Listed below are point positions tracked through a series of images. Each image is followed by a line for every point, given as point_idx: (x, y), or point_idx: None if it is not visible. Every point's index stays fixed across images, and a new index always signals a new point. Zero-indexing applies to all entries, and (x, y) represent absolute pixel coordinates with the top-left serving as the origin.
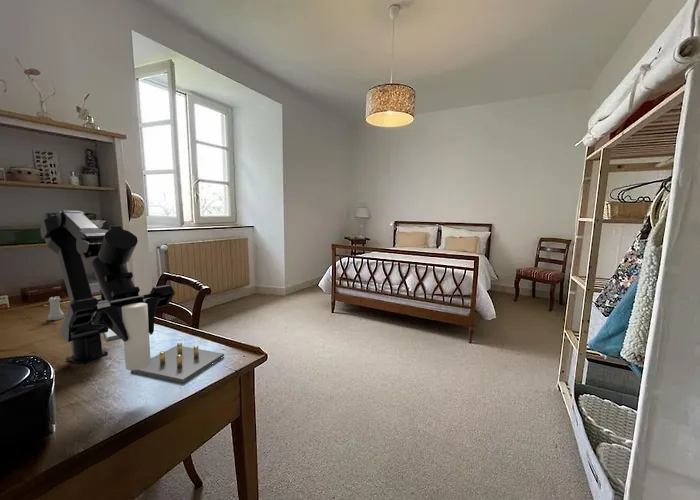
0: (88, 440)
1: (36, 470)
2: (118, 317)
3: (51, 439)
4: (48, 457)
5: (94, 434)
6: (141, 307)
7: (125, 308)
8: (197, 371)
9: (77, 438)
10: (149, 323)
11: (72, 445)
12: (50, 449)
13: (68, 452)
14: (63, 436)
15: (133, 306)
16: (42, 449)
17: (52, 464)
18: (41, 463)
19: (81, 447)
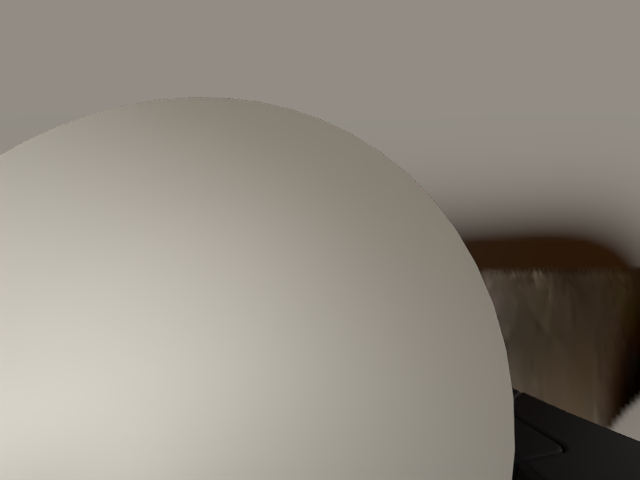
0: (517, 305)
1: (636, 288)
2: (521, 427)
3: (607, 416)
4: (612, 319)
5: (498, 320)
6: (170, 101)
7: (443, 305)
8: None
9: (540, 345)
10: None
11: (556, 320)
12: (609, 356)
13: (567, 295)
14: (575, 398)
15: (208, 331)
16: (629, 379)
17: (603, 278)
18: (627, 307)
19: (537, 288)
